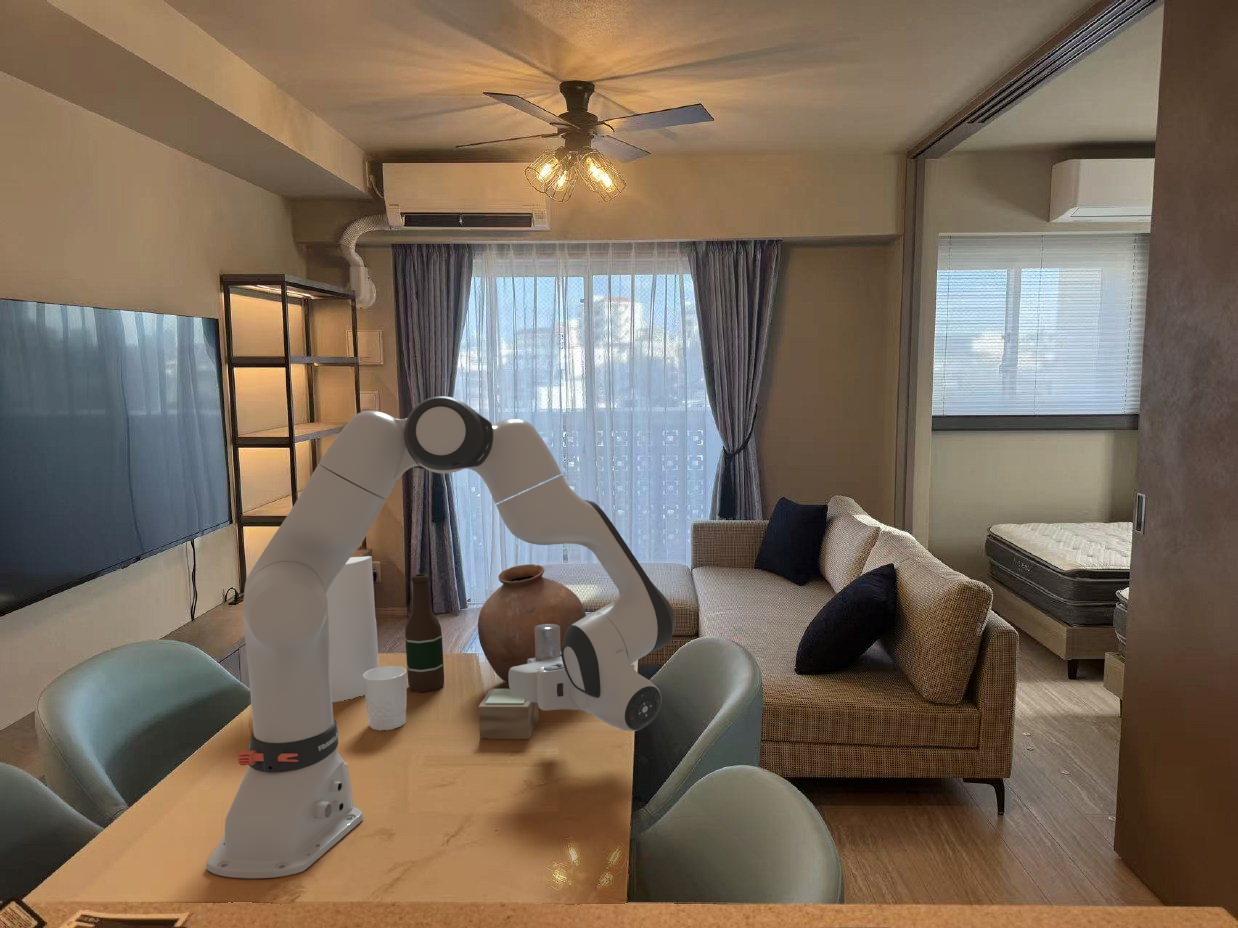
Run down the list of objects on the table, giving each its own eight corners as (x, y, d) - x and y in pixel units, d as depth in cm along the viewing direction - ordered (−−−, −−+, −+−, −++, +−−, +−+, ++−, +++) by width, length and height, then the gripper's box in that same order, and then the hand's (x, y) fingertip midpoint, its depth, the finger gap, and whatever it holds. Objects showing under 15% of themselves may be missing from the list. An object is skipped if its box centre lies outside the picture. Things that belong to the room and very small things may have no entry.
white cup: (415, 715, 169) (412, 665, 168) (400, 732, 161) (397, 679, 160) (375, 715, 170) (372, 665, 168) (359, 732, 162) (356, 679, 161)
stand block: (529, 739, 156) (527, 705, 155) (480, 738, 157) (478, 704, 156) (538, 719, 165) (537, 687, 164) (492, 719, 166) (490, 686, 165)
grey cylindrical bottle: (559, 704, 150) (558, 631, 149) (533, 704, 151) (531, 630, 150) (564, 695, 155) (562, 623, 154) (538, 695, 155) (536, 623, 154)
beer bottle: (440, 692, 181) (434, 578, 179) (403, 693, 181) (396, 579, 179) (448, 679, 189) (442, 570, 186) (412, 680, 189) (406, 571, 186)
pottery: (597, 666, 194) (593, 555, 192) (577, 704, 172) (572, 580, 169) (498, 664, 198) (493, 555, 195) (465, 702, 175) (459, 579, 172)
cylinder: (373, 699, 178) (364, 564, 175) (285, 706, 176) (275, 569, 173) (385, 671, 195) (377, 548, 193) (305, 677, 193) (296, 552, 191)
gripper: (639, 649, 147) (595, 631, 159) (532, 673, 136) (493, 652, 147) (640, 686, 148) (595, 665, 159) (533, 713, 136) (494, 688, 148)
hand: (545, 659), depth 153 cm, fingers closed on grey cylindrical bottle, 4 cm apart
